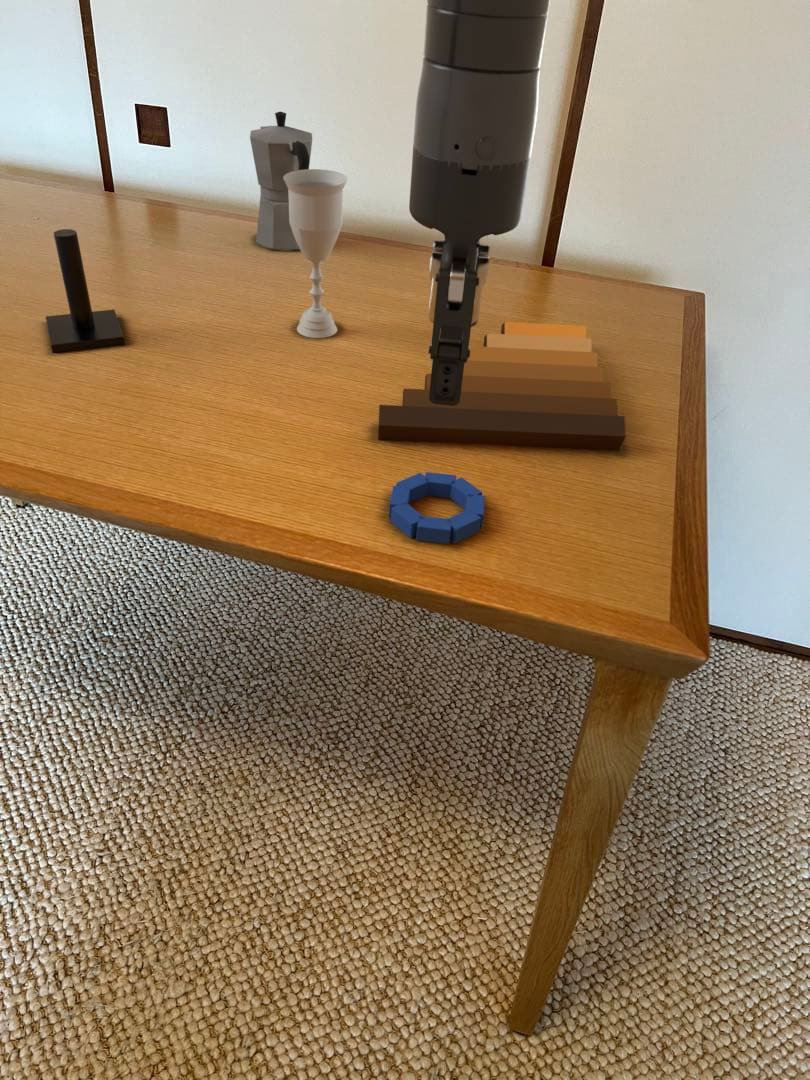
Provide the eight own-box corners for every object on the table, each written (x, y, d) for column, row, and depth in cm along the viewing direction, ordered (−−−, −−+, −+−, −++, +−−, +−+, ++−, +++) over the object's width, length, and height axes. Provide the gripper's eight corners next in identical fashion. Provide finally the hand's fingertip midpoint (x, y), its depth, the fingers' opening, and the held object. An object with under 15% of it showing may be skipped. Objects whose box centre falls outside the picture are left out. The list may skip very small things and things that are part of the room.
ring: (480, 548, 70) (483, 533, 69) (384, 537, 71) (385, 522, 70) (483, 492, 77) (485, 478, 76) (395, 482, 77) (396, 468, 76)
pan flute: (378, 442, 82) (620, 453, 84) (379, 413, 80) (628, 425, 81) (380, 334, 102) (577, 344, 103) (381, 309, 99) (583, 319, 101)
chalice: (325, 312, 106) (324, 166, 94) (356, 332, 102) (360, 181, 90) (277, 325, 102) (270, 174, 91) (308, 346, 98) (305, 191, 87)
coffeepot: (240, 230, 128) (232, 102, 116) (296, 223, 132) (293, 100, 120) (277, 264, 118) (272, 129, 106) (336, 256, 121) (337, 125, 110)
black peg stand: (52, 353, 93) (28, 248, 85) (47, 324, 99) (23, 223, 91) (125, 344, 96) (107, 242, 88) (115, 316, 101) (98, 218, 94)
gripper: (422, 113, 57) (407, 330, 67) (402, 168, 46) (387, 417, 56) (529, 124, 57) (497, 339, 67) (534, 180, 46) (495, 428, 56)
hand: (447, 374), depth 62 cm, fingers open, 8 cm apart
